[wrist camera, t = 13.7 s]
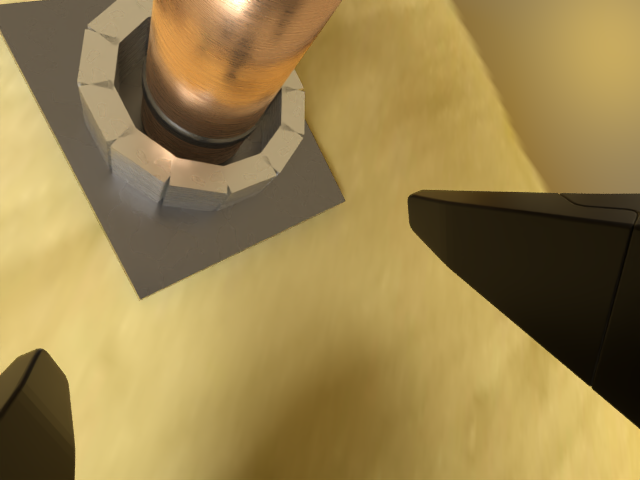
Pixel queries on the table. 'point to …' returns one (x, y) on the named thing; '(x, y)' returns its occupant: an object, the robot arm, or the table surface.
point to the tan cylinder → (220, 69)
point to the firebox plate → (119, 205)
